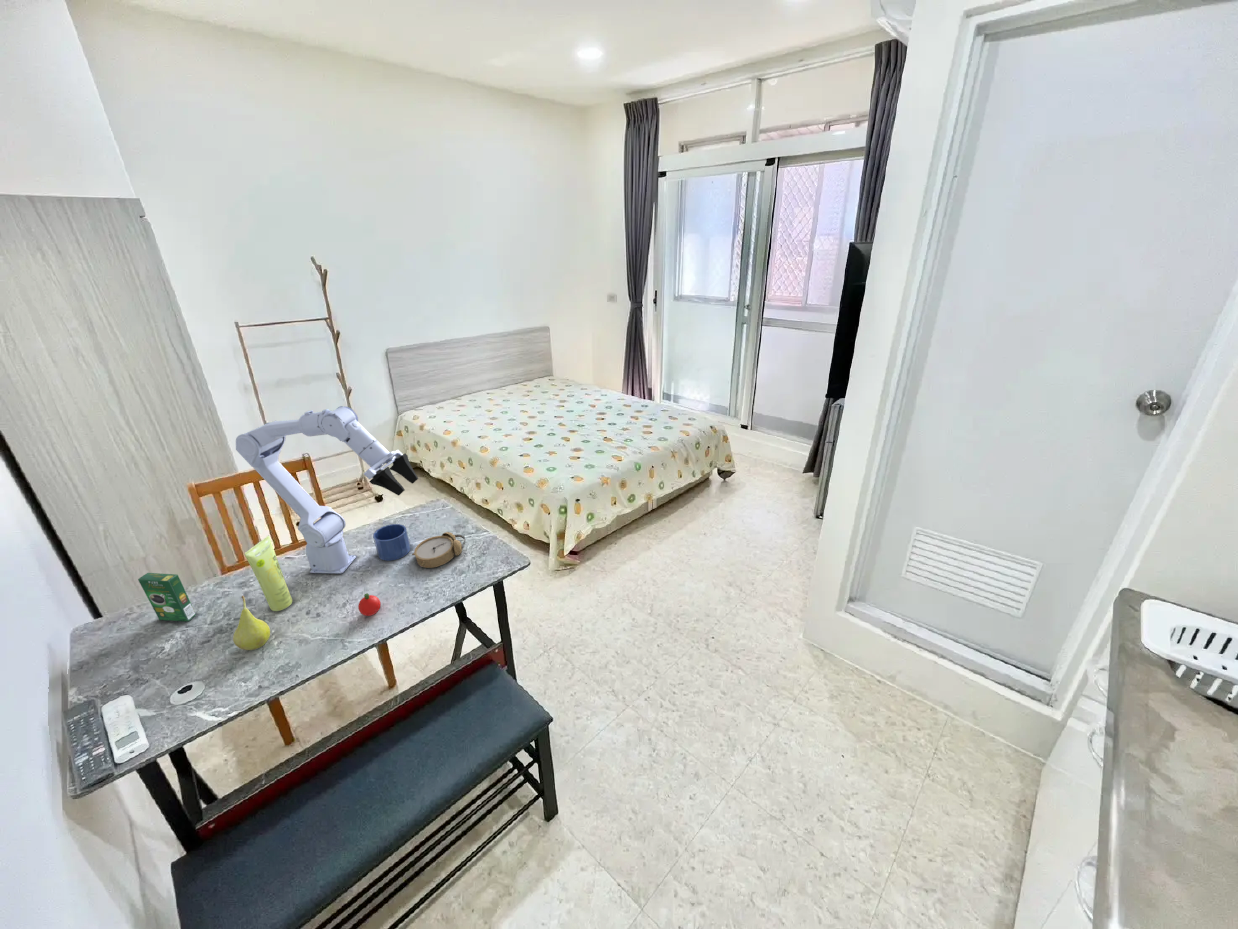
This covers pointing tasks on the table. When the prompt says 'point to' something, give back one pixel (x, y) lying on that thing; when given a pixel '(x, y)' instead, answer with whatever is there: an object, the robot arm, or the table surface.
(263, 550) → the tube
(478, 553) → the table surface
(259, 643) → the fruit
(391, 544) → the cup
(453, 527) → the table surface
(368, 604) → the tomato
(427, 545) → the alarm clock
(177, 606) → the coffee box
